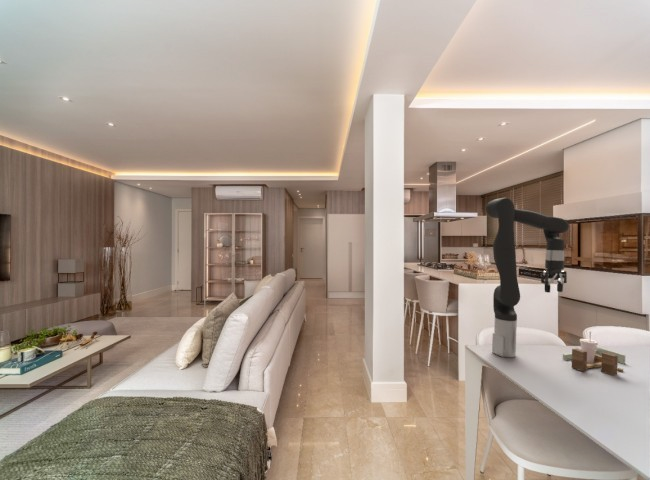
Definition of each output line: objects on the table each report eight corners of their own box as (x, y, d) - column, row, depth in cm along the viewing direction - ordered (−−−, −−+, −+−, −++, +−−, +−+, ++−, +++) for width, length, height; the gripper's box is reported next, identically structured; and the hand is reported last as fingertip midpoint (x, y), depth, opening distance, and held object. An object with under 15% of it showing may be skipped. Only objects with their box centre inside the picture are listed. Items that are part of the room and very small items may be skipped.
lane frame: (590, 369, 133) (590, 360, 133) (562, 359, 143) (563, 350, 143) (625, 363, 140) (625, 355, 140) (596, 354, 151) (596, 346, 151)
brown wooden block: (612, 375, 127) (613, 356, 127) (601, 371, 131) (601, 352, 131) (627, 372, 130) (628, 354, 130) (616, 369, 134) (616, 350, 134)
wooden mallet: (581, 371, 130) (582, 352, 130) (556, 361, 140) (556, 343, 140) (612, 366, 136) (612, 348, 136) (585, 357, 146) (586, 340, 146)
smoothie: (600, 365, 138) (601, 334, 137) (584, 363, 139) (585, 333, 139) (591, 359, 144) (592, 330, 144) (575, 358, 145) (576, 328, 145)
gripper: (557, 258, 158) (556, 290, 158) (536, 258, 153) (535, 291, 153) (572, 260, 150) (571, 292, 151) (551, 259, 146) (550, 293, 146)
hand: (553, 292), depth 152 cm, fingers open, 8 cm apart
